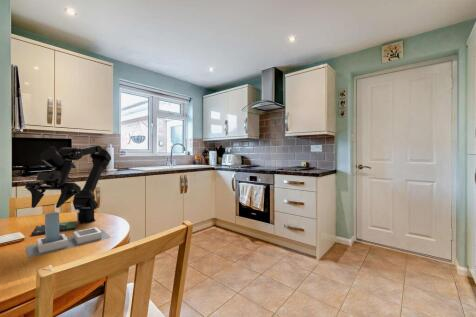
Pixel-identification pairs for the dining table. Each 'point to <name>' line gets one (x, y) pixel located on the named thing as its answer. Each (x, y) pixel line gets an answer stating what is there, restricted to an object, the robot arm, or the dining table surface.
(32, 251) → the grey double socket base
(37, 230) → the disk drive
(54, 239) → the plug
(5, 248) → the dining table surface
